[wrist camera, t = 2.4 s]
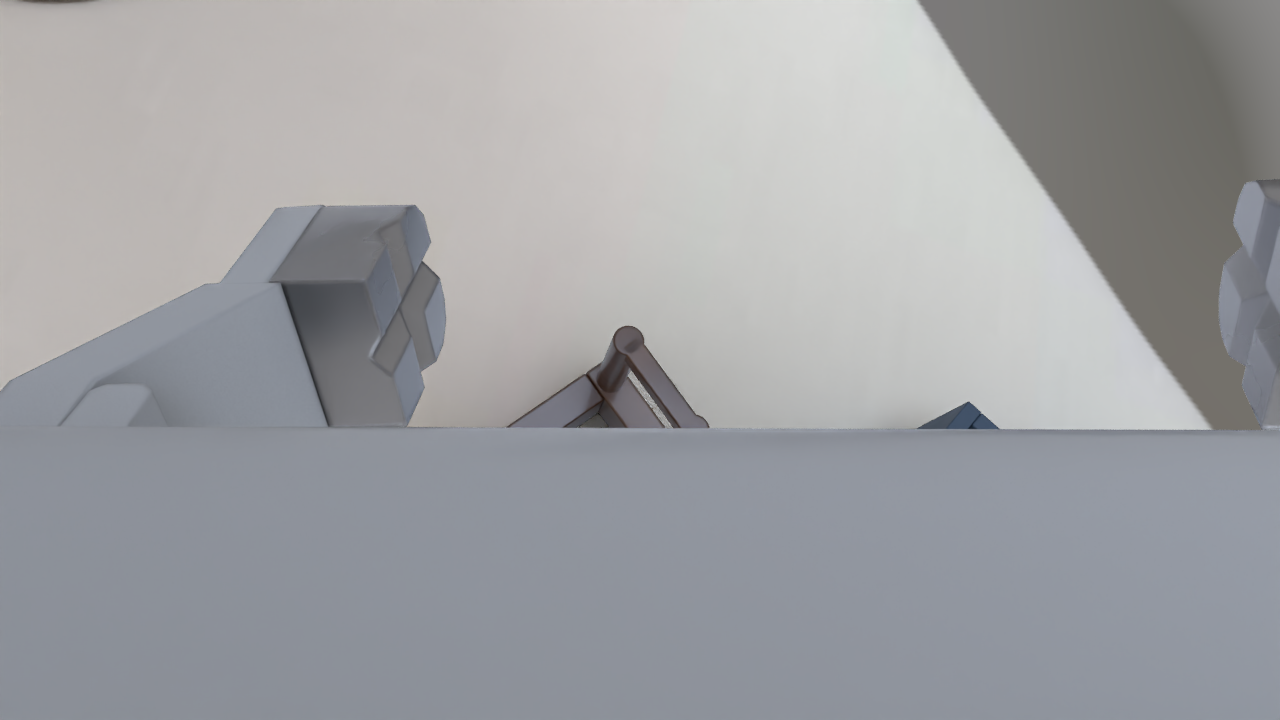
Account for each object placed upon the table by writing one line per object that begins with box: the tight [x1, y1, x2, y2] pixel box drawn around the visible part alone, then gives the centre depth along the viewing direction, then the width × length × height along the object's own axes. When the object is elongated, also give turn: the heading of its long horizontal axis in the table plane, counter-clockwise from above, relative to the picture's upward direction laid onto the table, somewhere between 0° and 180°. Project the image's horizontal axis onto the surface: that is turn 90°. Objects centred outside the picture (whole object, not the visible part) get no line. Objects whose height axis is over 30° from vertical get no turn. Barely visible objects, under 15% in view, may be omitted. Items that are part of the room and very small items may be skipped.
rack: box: [506, 326, 709, 428], centre depth 40 cm, size 10×10×8 cm
